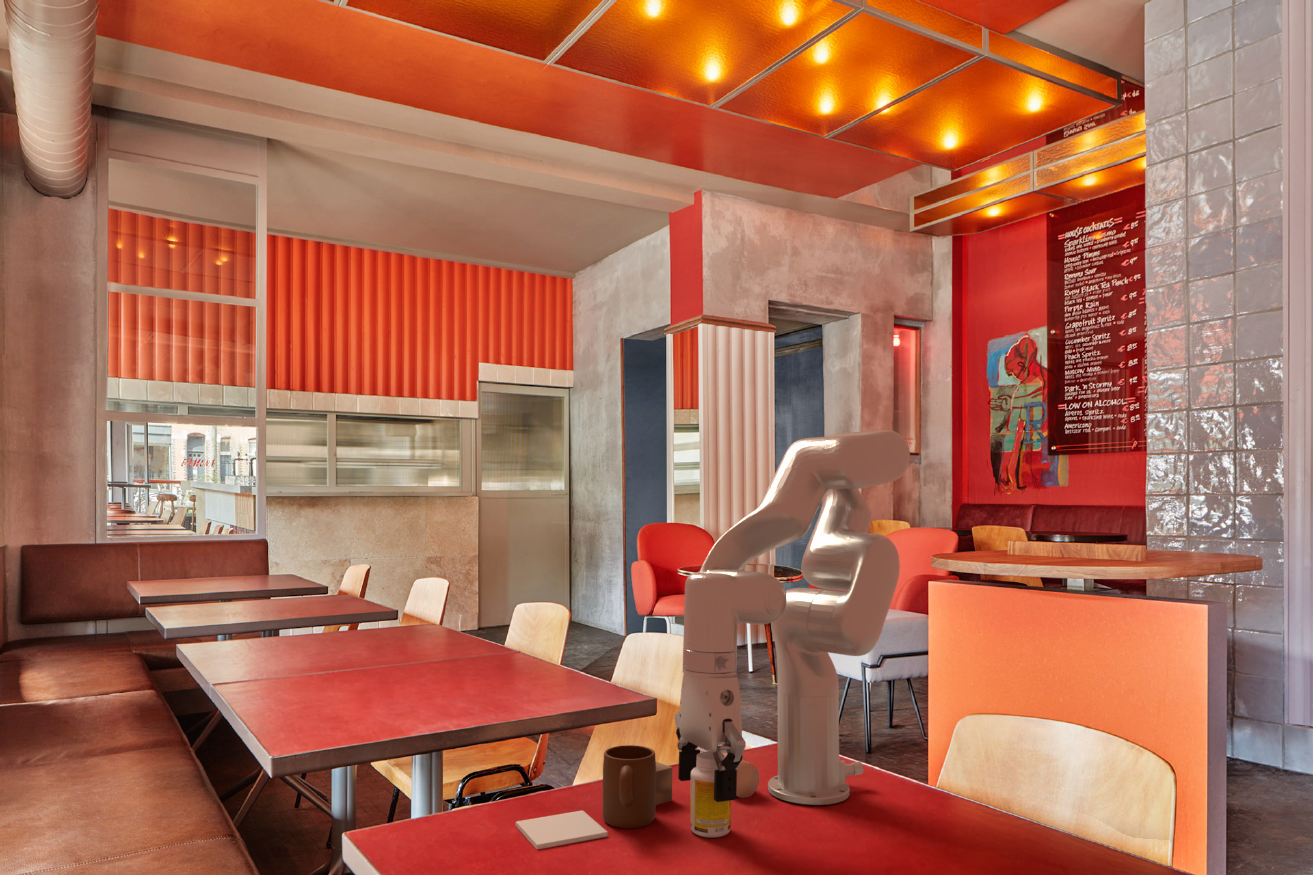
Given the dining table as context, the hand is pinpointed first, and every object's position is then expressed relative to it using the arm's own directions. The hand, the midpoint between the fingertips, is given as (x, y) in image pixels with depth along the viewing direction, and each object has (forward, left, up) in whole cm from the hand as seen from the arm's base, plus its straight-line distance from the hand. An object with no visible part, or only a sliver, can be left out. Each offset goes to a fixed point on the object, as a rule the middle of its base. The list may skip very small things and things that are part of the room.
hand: (706, 789), depth 116 cm
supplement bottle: (-1, 0, -6) cm, 6 cm away
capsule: (-10, -13, -3) cm, 17 cm away
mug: (+8, -7, -6) cm, 13 cm away
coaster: (+18, -9, -6) cm, 21 cm away
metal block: (+1, -15, -6) cm, 16 cm away
